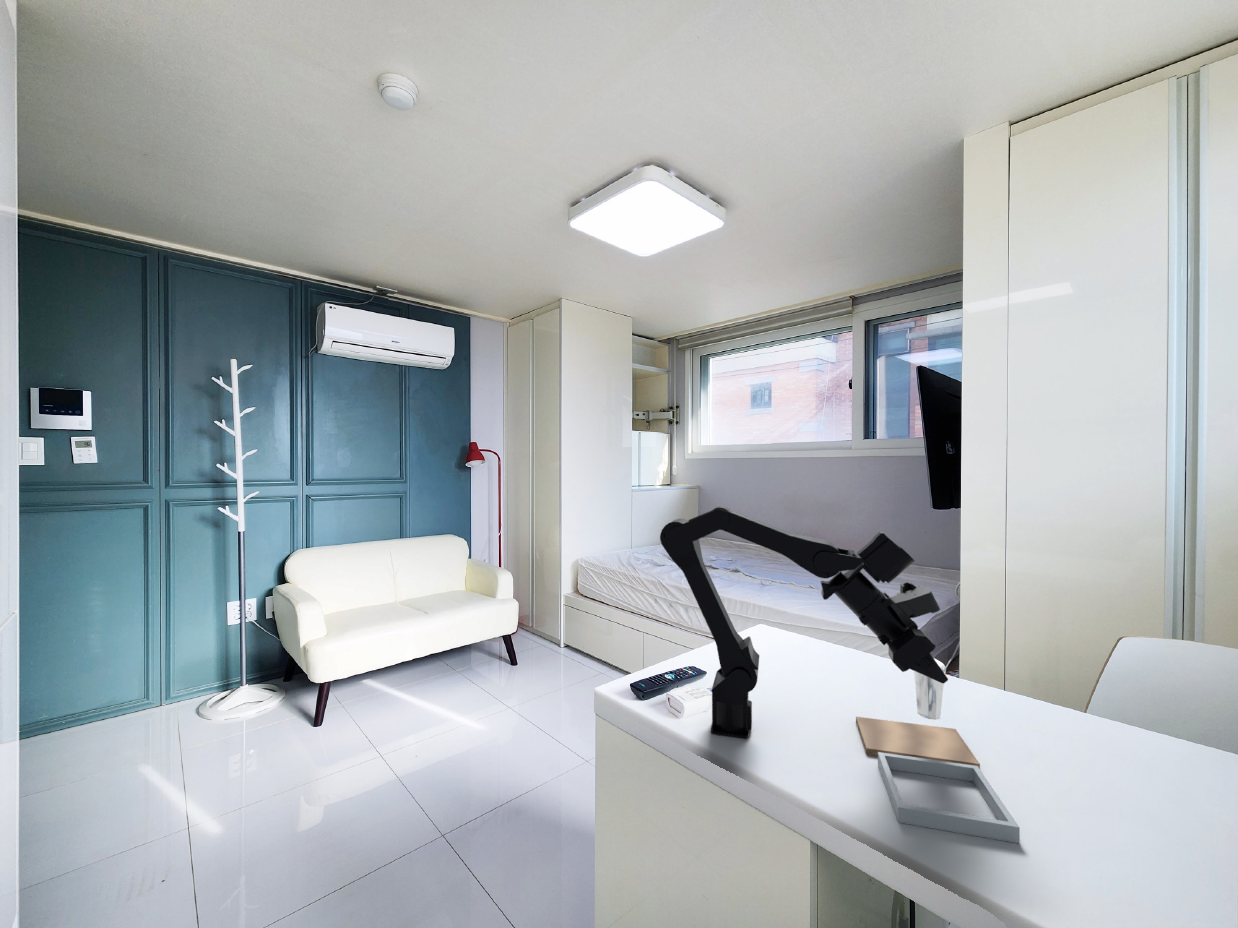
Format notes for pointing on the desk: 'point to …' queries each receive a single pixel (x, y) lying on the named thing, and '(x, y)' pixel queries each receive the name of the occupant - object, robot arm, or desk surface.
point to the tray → (946, 820)
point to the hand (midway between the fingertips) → (941, 675)
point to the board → (914, 741)
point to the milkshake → (929, 694)
